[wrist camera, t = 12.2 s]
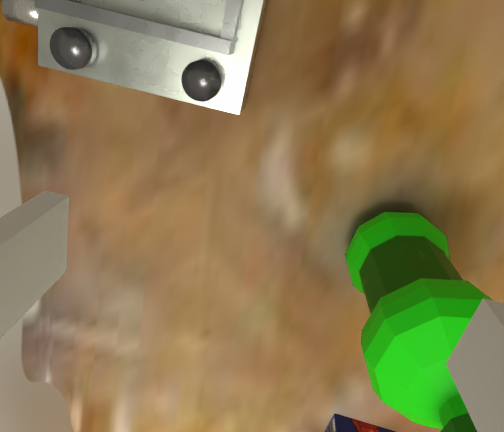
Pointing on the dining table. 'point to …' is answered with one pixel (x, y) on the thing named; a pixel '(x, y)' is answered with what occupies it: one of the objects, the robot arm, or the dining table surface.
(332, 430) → the cereal box
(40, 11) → the grey rectangular open box
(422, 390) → the plastic bottle
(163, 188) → the dining table surface
